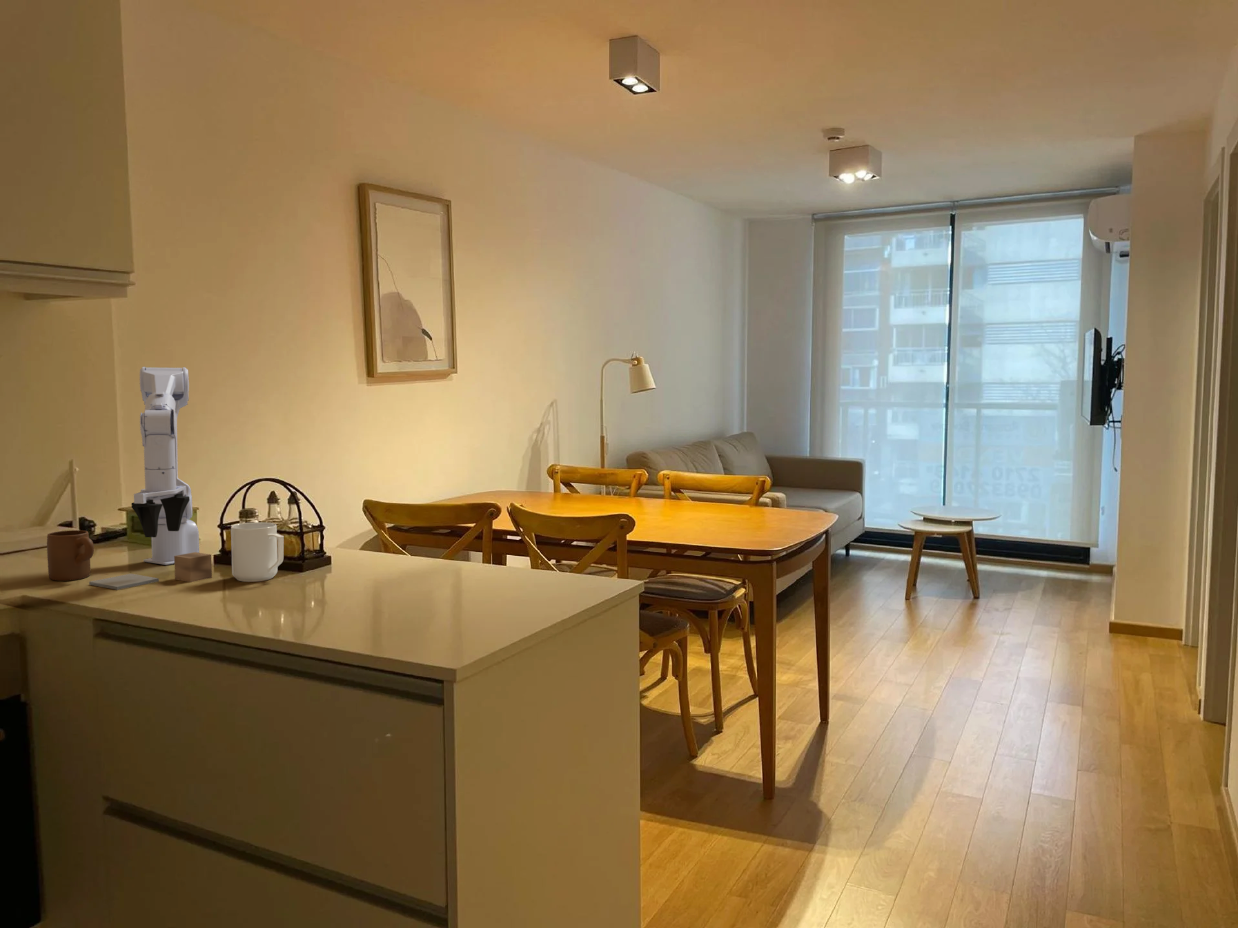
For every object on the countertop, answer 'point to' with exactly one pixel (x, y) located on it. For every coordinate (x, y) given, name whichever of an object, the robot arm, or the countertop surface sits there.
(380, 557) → the countertop surface
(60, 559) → the mug
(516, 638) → the countertop surface
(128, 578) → the slate coaster
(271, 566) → the mug
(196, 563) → the walnut block
